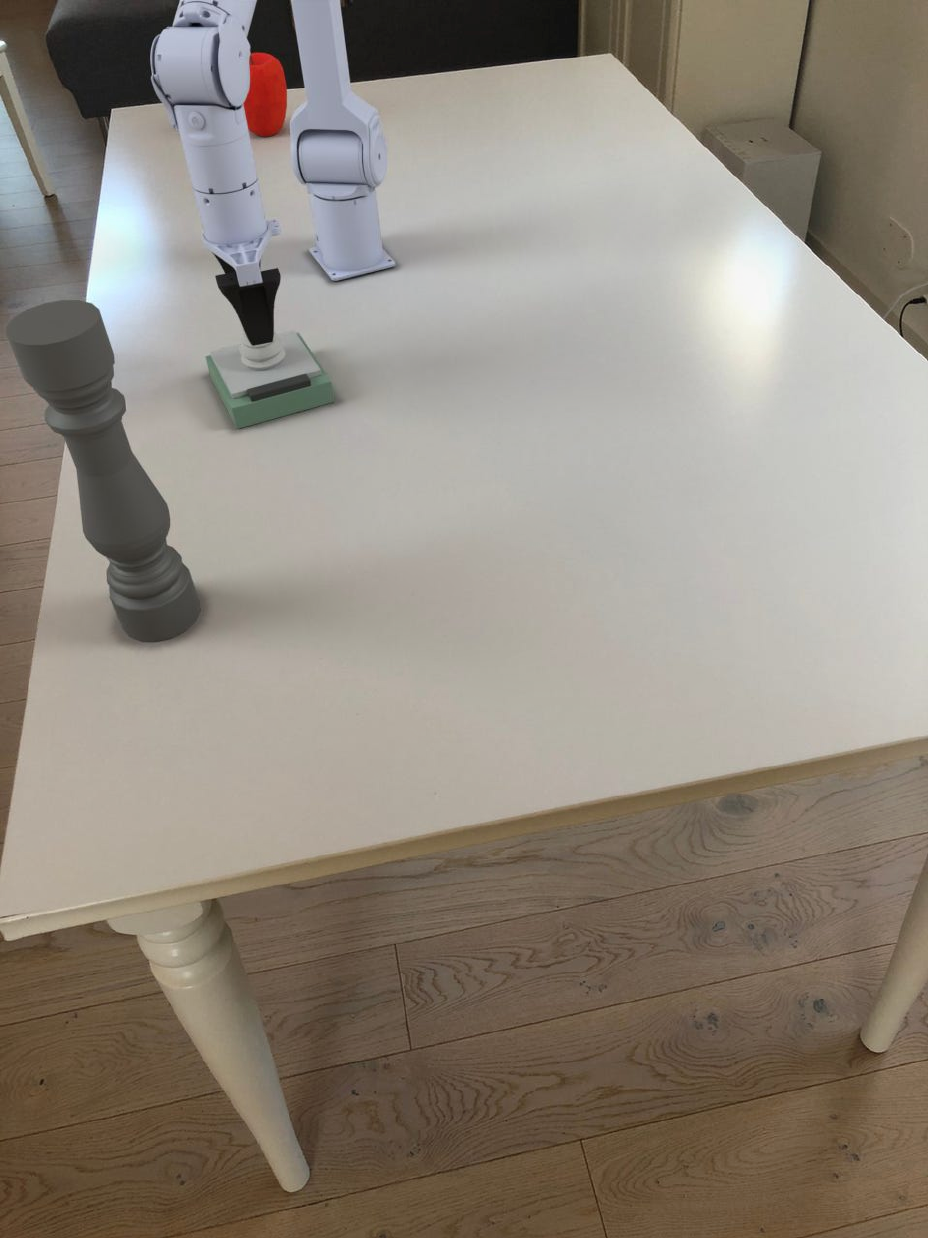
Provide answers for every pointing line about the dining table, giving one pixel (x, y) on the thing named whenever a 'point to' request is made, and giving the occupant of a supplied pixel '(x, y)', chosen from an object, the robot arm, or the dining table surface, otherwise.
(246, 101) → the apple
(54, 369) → the candle holder
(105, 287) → the dining table surface
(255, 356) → the rook chess piece
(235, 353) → the scale
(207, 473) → the dining table surface
